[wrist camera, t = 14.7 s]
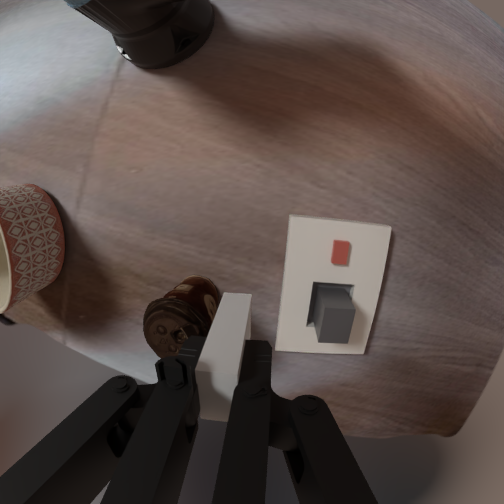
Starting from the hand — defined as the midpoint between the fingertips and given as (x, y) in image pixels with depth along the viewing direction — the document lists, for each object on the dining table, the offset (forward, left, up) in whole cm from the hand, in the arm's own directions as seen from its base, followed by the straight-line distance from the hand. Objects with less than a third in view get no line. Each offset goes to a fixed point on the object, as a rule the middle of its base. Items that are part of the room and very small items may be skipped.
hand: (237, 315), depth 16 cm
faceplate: (+8, +11, -25) cm, 28 cm away
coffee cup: (+11, -8, -25) cm, 28 cm away
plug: (+10, +11, -25) cm, 28 cm away
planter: (+4, -41, -25) cm, 48 cm away
